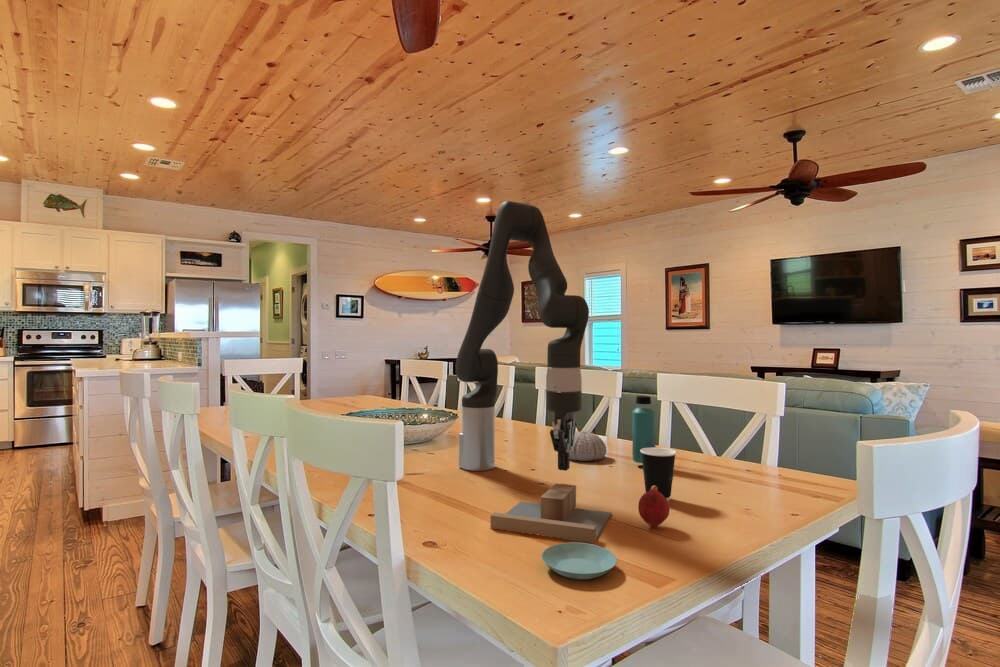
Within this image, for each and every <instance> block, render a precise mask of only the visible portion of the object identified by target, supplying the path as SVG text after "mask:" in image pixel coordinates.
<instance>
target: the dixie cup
mask: <svg viewBox="0 0 1000 667" xmlns="http://www.w3.org/2000/svg"><path fill="white" fill-rule="evenodd" d="M640 452H641V453H642V462H643V463H642V468H643V469H642V470H643V478H644V479H643V481H644V488H645V489H644V491H645V493H646V492H648V491H649V490H650V489H651V487H652V486H654V485H655V486H656V487H658V489H657V490H658V491H659V492H660V493H661V494H663V496H664V497H665V498H666V500H667V501H668V502H670V498H671V496H672V495H671V494H672V487H673V478H674V471H675V469H674V468H675V462H676V461H675V460H676V455H677V454H678V453H677V451H676V450H674V449H671V448H666V447H665V448H664V447H655V448H643V449H641V450H640Z"/></svg>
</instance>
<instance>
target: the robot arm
mask: <svg viewBox="0 0 1000 667" xmlns="http://www.w3.org/2000/svg"><path fill="white" fill-rule="evenodd" d="M550 240H551V239H550V236H549V232H548V228H547V226H546V222H545V218H544V215H543V213H542V211H541V209H540V208H539V207H537V206H534V205H533V204H527V203H523V202H517V201H513V200H511V201H510V200H505V201H503V202H502V203H501V204H500V205H499V208H498V209H497V213H496V216H495V219H494V223H493V229H492V234H491V239H490V245H489V250H488V254H487V260H486V263H485V267H484V269H483V274H482V277H481V281H480V283H479V287H478V290H477V295H476V298H475V302H474V306H473V309H472V313H471V318H470V321H469V323H468V327H467V331H466V333H465V335H464V338H463V340H462V343H461V345H460V348H459V350H458V354H457V357H456V361H455V374H456V377H457V379H458V380H459V381H460V382H464V383H477V385H476V386H475V388H474V389H473V390H471V391H469V392H467V393H465V394H464V395H462V397H461V432H460V433H458V468H460V469H463V470H466V471H475V472H476V471H477V472H479V471H481V472H482V471H489V470H493V469H494V468H495V466H496V463H495V462H496V458H495V455H496V454H495V450H496V449H495V447H496V445H495V443H496V442H495V438H496V436H495V433H496V432H495V431H496V429H495V428H496V427H495V425H496V424H495V423H496V422H495V421H496V420H495V418H496V417H495V416H496V415H495V413H496V411H495V405H496V403H495V402H496V397H497V393H498V391H497V390H498V374H499V373H498V372H499V366H498V365H499V361H498V357H497V354H496V353H495V351H494V350H492V349H491V348H490V349H489V348H482V347H483V344H484V342H485V341H486V339H487V338H488V336H490V335H491V333H492V332H494V331H495V329H497V327H498V326H499V325H500V324H501V323H502V321H503V320H505V318H506V317H507V315H508V313H509V311H510V307H511V304H512V302H513V298H514V293H515V286H514V281H513V278H512V274H511V271H510V268H509V265H508V258H507V256H508V255H507V254H508V248H509V243H510V241H515V242H516V241H517V242H527V243H528V244H529V245H530V247H531V248H532V252H531V255H530V257H529V260H528V264H527V265H528V266H527V268H528V275H529V277H530V279H531V282H532V284H533V287H534V288H535V290H536V295H537V302H538V317H539V319H540V321H541V323H542V324H543V325H544V326H546V327H548V328H553V329H555V328H556V329H560V328H561V329H565V331H564V332H565V333H564V334H563V336H562V337H560V338H556V339H552V340H550V341H549V342H548V343H547V344H548V345H547V355H546V356H547V360H546V361H547V365H546V366H547V368H546V369H547V370H546V376H545V377H546V379H545V382H546V384H545V385H546V387H545V389H546V390H545V395H546V396H545V405H546V406H545V409H546V410H547V411H549V412H553V413H554V417H553V418H554V419H553V420H552V428H553V429H550V431H549V434H550V437H551V438H550V439H551V442H552V447H553V451H554V452H556V453H557V469H558V470H559V471H568V470H569V469H570V465H571V464H570V462H571V461H570V460H571V459H570V451H571V447H573V441H574V436H575V433H576V428H577V422H576V420H575V419H574V414H573V413H578V412H580V411H581V410H582V409H583V408H582V402H583V400H582V397H583V395H582V393H583V392H582V391H583V389H582V385H583V384H582V383H583V382H582V372H581V348H582V344H583V340H584V336H585V332H586V329H587V325H588V321H589V317H590V307H589V304H588V302H587V301H586V299H585V298H584V297H582V296H581V295H574V294H573V295H572V294H571V295H570V294H565V293H566V292H567V289H568V281H567V279H566V276H565V275H564V273H563V271H562V269H561V267H560V265H559V263H558V261H557V259H556V256H555V254H554V251H553V248H552V244H551V241H550Z"/></svg>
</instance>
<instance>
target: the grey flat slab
mask: <svg viewBox="0 0 1000 667" xmlns="http://www.w3.org/2000/svg"><path fill="white" fill-rule="evenodd" d="M611 515H612V512H609V511H601V510H594V509H587V508H586V509H585V508H576V507H575V508H574V509H573V511H572V512H571V513H570V514H569V515H568V517H567V518H566V519H565V520H564V521H556V520H549V519H541V503H538V502H537V503H536V502H527V501H519V502H517V503H516V505H514V506H513V507H512V508H511V509H510V510H509V511H507V512H505V513H501V512H493V513H492V514H491V515H490V529H491V530H497V529H499V530H500V531H504V530H507V531H506V532H511V531H515V532H514V533H518V532H523V533H522V534H525V533H531V534H530V535H532V534H539V535H544V536H543V537H546V536H551V537H550V538H553V537H557V538H556V539H560V538H563V539H562V540H567V539H569V540H568V541H574V540H576V541H575V542H581V541H583V542H582V543H588V542H591V543H590V544H595V542H596V540H597V539H598V537H599V536H600V535H601V532H602V531H603V529H604V527H605V526H606V524H607V522H608V520H609V519H610V517H611ZM499 530H498V531H499ZM539 535H538V536H539Z"/></svg>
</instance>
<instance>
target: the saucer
mask: <svg viewBox="0 0 1000 667" xmlns="http://www.w3.org/2000/svg"><path fill="white" fill-rule="evenodd" d="M540 556H541V560H542V561H543V563H545V565H546V566H547V567H548V568H550V569H551V570H552V571H553V572H554V573H557V574H558V575H560V576H562V577H564V578H568V579H571V580H580V581H581V580H582V581H583V580H585V581H586V580H593V579H596V578H599V577H601V576H603V575H604V574H606V573H608V572H609V571H610V570H612V568H614V567H615V566H616V565H617V561H618V560H617V557H616V555H615V554H614V553H613V552H612V551H611V550H609V549H607V548H605V547H603V546H599V545H596V544H594V543H588V542H578V541H575V542H572V541H571V542H563V543H562V542H561V543H557V544H554V545H550V546H549V547H547V548H545V549H544V550H543V551H542V553H541V555H540Z"/></svg>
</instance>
